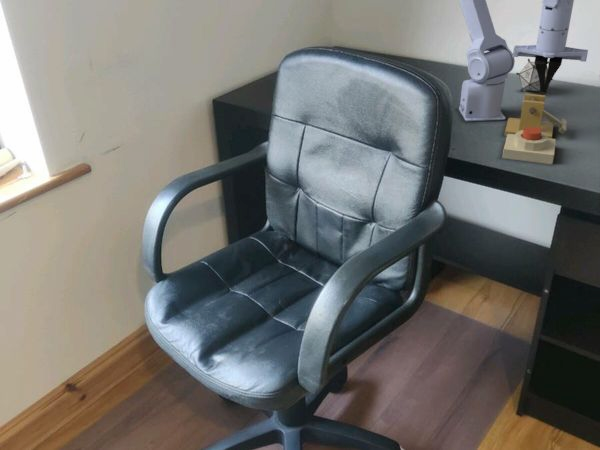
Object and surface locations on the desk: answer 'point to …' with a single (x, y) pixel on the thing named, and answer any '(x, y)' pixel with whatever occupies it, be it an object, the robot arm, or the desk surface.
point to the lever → (554, 119)
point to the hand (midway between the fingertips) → (543, 90)
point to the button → (531, 133)
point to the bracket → (530, 117)
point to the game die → (530, 77)
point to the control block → (529, 148)
